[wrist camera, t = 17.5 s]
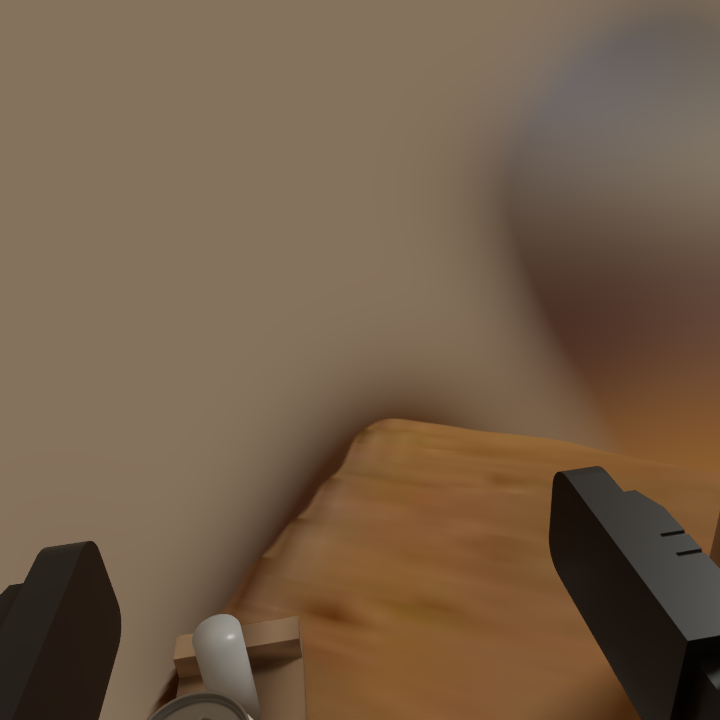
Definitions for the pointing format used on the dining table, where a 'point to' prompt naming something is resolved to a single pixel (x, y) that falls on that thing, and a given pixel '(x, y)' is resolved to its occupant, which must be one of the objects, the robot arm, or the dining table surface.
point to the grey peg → (226, 661)
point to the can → (202, 708)
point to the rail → (260, 667)
